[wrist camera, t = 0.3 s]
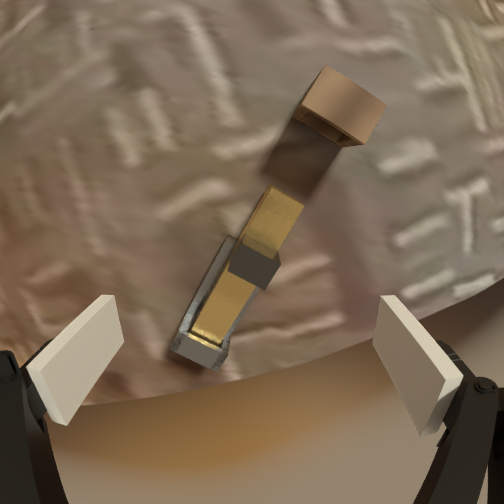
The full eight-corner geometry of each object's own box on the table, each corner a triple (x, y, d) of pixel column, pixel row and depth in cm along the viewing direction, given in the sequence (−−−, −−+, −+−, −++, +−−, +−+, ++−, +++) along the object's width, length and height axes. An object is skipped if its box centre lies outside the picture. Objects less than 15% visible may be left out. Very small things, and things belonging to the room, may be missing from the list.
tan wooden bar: (188, 328, 41) (173, 367, 32) (269, 183, 35) (273, 190, 26) (213, 340, 41) (204, 382, 33) (298, 200, 35) (312, 213, 27)
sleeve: (182, 320, 42) (169, 349, 35) (228, 234, 38) (221, 251, 31) (222, 340, 42) (216, 371, 35) (272, 258, 39) (276, 280, 32)
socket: (291, 116, 34) (301, 104, 26) (311, 83, 32) (325, 64, 25) (342, 147, 35) (364, 144, 27) (361, 115, 33) (386, 105, 26)
